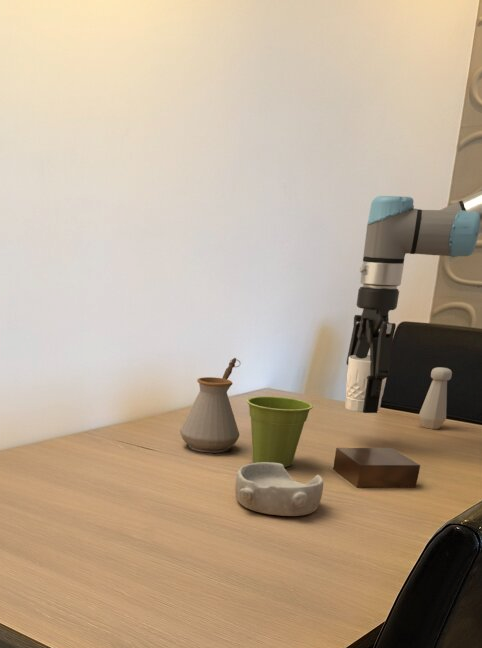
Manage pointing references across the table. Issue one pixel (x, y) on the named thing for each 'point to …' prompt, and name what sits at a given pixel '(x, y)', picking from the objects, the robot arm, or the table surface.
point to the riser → (376, 467)
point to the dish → (276, 490)
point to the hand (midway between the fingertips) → (361, 407)
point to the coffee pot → (211, 416)
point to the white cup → (358, 383)
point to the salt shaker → (436, 399)
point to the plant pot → (276, 427)
